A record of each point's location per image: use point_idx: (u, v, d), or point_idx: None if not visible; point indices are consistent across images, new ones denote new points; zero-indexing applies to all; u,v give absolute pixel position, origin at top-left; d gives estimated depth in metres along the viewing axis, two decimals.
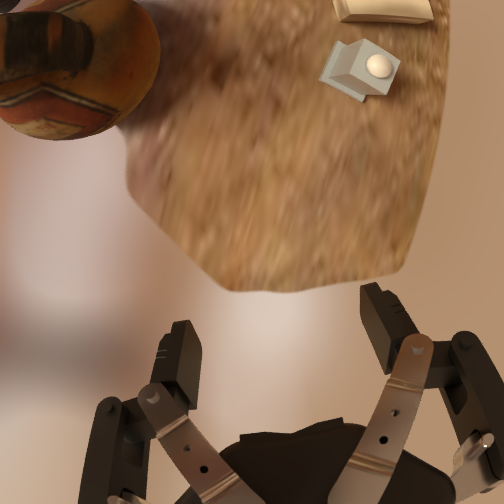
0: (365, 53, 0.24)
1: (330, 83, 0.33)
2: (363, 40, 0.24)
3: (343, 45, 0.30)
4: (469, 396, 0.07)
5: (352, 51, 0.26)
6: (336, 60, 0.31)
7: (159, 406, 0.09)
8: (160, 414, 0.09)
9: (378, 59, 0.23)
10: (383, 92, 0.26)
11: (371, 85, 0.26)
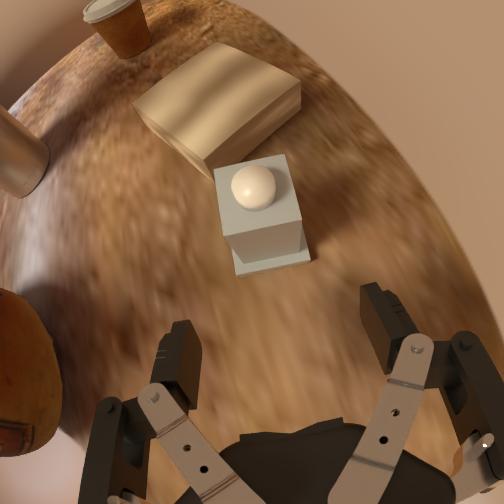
0: (227, 188, 0.19)
1: (251, 269, 0.25)
2: (214, 173, 0.19)
3: None
4: (469, 396, 0.07)
5: None
6: None
7: (159, 406, 0.09)
8: (160, 414, 0.09)
9: (243, 178, 0.18)
10: (295, 219, 0.18)
11: (269, 225, 0.18)
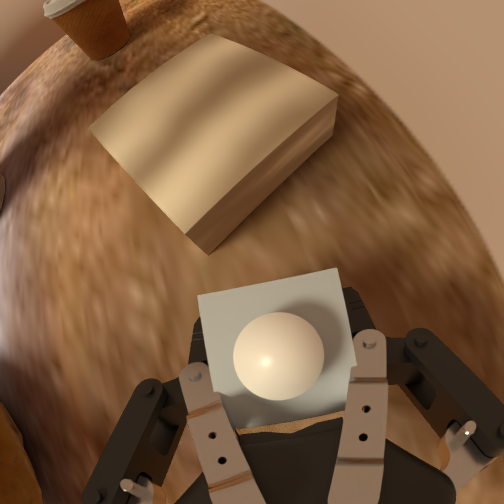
0: (225, 340, 0.10)
1: None
2: None
3: None
4: (437, 390, 0.07)
5: None
6: None
7: (198, 386, 0.09)
8: (205, 392, 0.09)
9: (257, 342, 0.08)
10: None
11: (304, 416, 0.09)
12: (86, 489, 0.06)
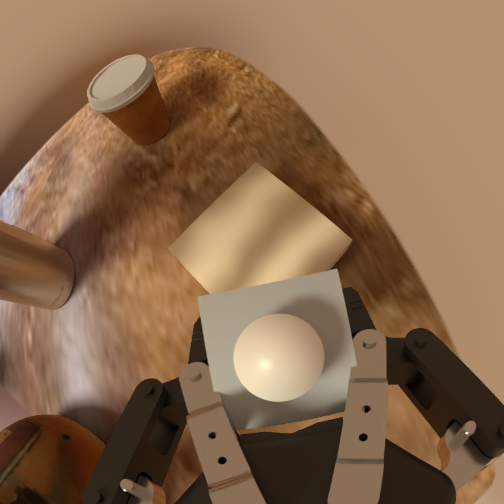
0: (225, 341, 0.10)
1: None
2: None
3: None
4: (437, 391, 0.07)
5: None
6: None
7: (198, 386, 0.09)
8: (205, 392, 0.09)
9: (258, 344, 0.08)
10: None
11: (304, 417, 0.09)
12: (86, 489, 0.06)
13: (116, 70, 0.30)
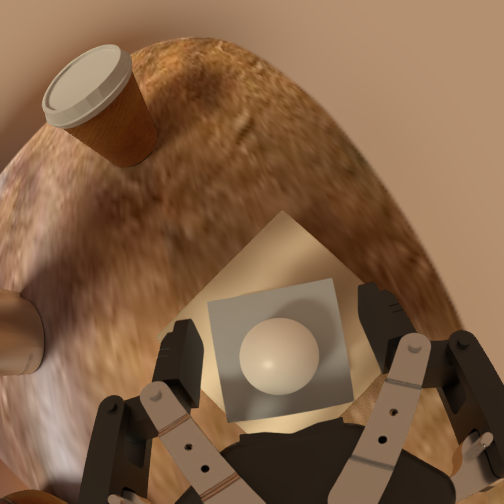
0: (232, 342, 0.11)
1: None
2: (209, 308, 0.11)
3: None
4: (467, 395, 0.07)
5: None
6: None
7: (161, 404, 0.09)
8: (162, 412, 0.09)
9: (261, 344, 0.09)
10: (343, 400, 0.10)
11: (301, 410, 0.10)
12: None
13: (82, 67, 0.20)
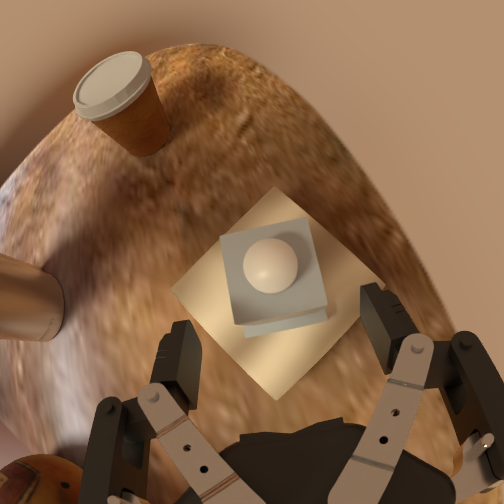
0: (237, 262, 0.16)
1: (262, 332, 0.22)
2: None
3: None
4: (469, 396, 0.07)
5: None
6: None
7: (159, 406, 0.09)
8: (160, 414, 0.09)
9: (257, 256, 0.14)
10: (319, 304, 0.15)
11: (289, 312, 0.15)
12: None
13: (107, 70, 0.25)
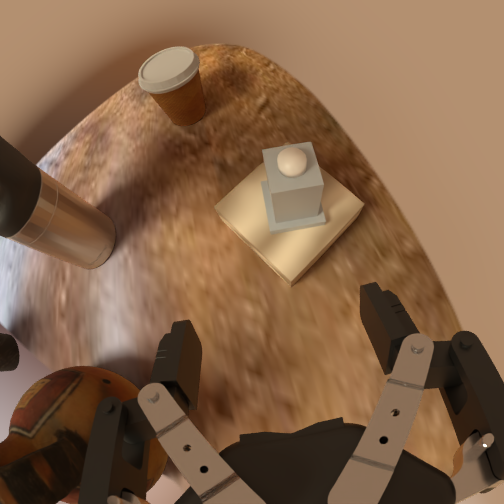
0: (272, 162, 0.27)
1: (281, 227, 0.33)
2: (262, 152, 0.27)
3: (268, 182, 0.35)
4: (469, 396, 0.07)
5: None
6: (271, 200, 0.34)
7: (159, 406, 0.09)
8: (160, 414, 0.09)
9: (285, 155, 0.26)
10: (319, 184, 0.26)
11: (302, 187, 0.26)
12: None
13: (164, 58, 0.36)
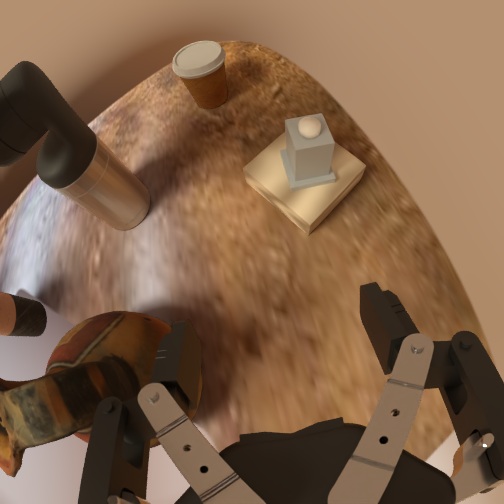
0: (294, 128, 0.33)
1: (300, 184, 0.40)
2: (285, 122, 0.34)
3: (286, 150, 0.41)
4: (469, 396, 0.07)
5: (288, 139, 0.36)
6: (290, 164, 0.40)
7: (159, 406, 0.09)
8: (160, 414, 0.09)
9: (304, 122, 0.32)
10: (331, 142, 0.32)
11: (318, 145, 0.32)
12: None
13: (195, 50, 0.43)
